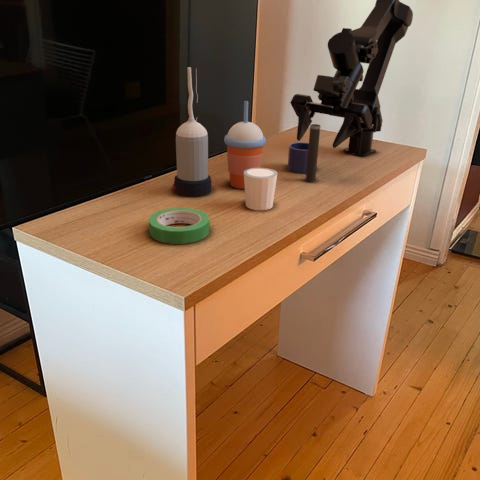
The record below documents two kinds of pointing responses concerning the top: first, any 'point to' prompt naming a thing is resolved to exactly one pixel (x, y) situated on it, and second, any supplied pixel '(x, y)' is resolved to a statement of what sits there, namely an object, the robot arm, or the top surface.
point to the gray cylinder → (312, 152)
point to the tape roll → (179, 234)
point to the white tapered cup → (259, 188)
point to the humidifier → (192, 154)
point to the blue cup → (298, 157)
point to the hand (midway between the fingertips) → (315, 143)
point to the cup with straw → (243, 149)
